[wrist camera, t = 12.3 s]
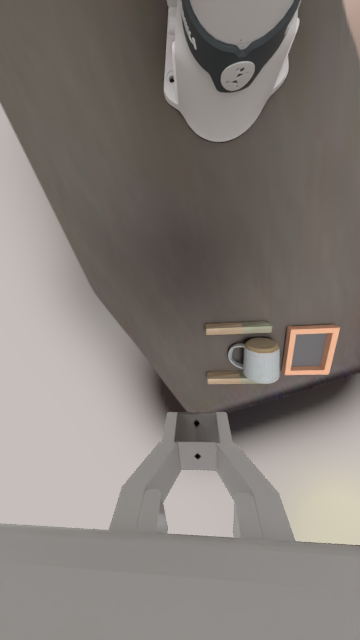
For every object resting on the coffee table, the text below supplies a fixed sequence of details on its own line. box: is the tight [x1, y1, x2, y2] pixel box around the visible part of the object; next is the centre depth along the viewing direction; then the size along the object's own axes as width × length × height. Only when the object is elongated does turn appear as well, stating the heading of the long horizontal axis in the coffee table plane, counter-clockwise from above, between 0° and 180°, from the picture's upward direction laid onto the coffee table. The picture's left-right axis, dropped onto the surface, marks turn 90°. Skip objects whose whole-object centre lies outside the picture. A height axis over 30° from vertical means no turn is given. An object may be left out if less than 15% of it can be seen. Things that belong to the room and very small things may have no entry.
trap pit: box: [281, 324, 340, 375], centre depth 44 cm, size 12×10×2 cm
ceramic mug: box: [228, 338, 280, 384], centre depth 42 cm, size 11×8×8 cm
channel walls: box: [206, 321, 272, 384], centre depth 45 cm, size 15×14×3 cm
